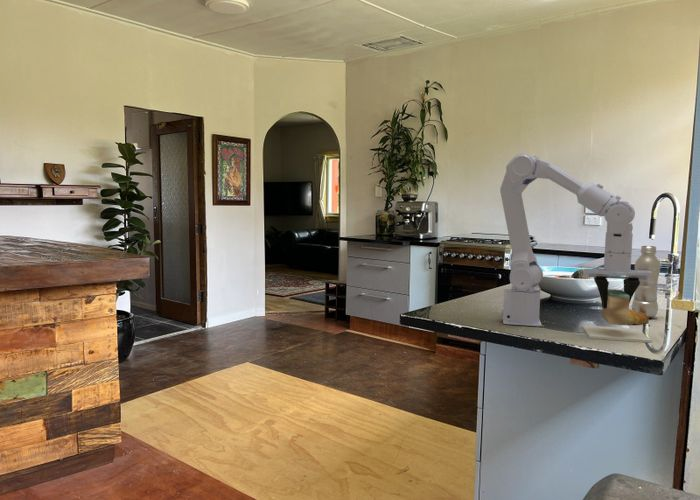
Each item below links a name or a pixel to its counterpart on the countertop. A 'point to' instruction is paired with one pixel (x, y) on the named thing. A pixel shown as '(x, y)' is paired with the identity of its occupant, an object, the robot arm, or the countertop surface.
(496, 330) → the countertop surface
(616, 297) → the tan green block
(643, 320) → the pastry
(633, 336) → the mat
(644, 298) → the plastic bottle
